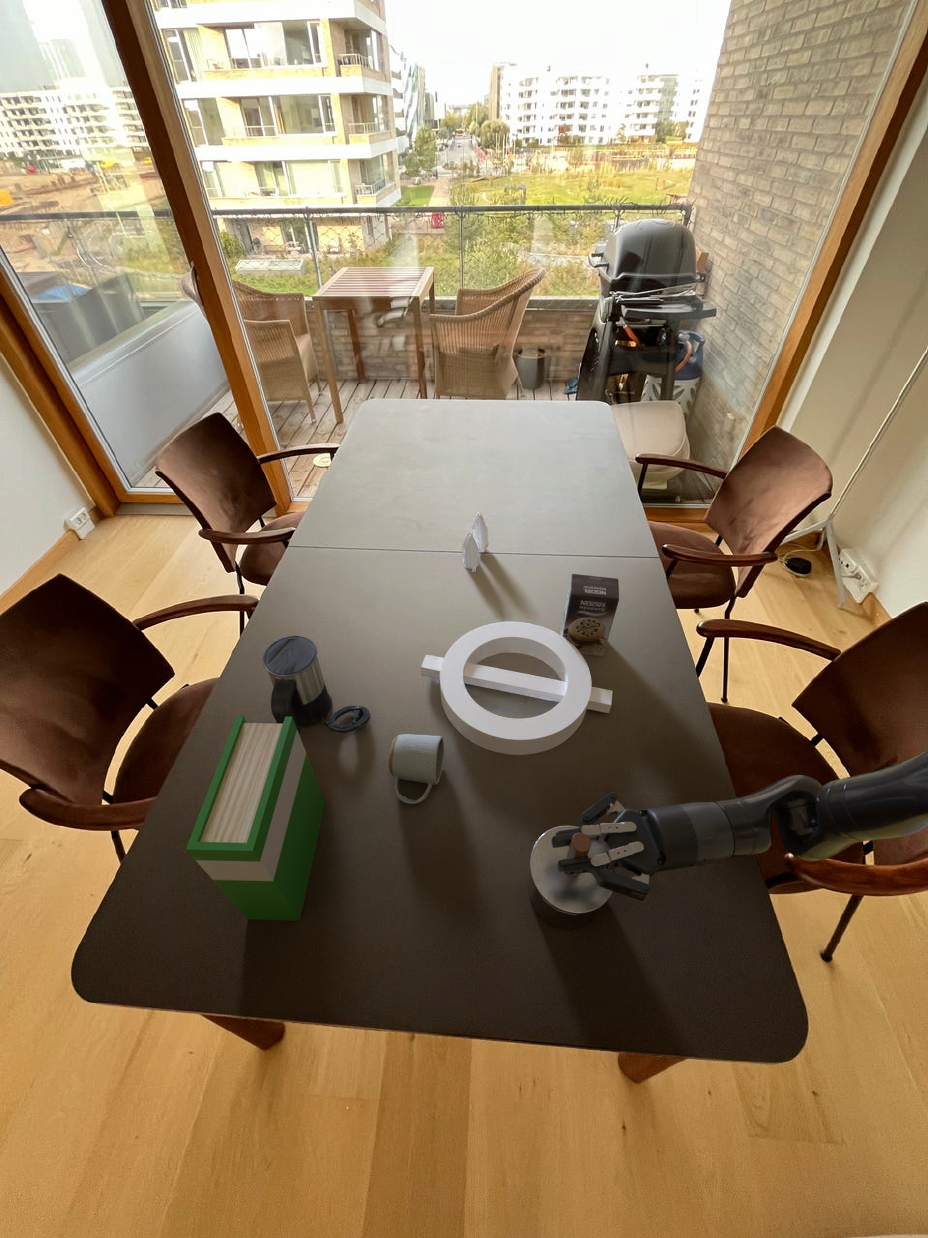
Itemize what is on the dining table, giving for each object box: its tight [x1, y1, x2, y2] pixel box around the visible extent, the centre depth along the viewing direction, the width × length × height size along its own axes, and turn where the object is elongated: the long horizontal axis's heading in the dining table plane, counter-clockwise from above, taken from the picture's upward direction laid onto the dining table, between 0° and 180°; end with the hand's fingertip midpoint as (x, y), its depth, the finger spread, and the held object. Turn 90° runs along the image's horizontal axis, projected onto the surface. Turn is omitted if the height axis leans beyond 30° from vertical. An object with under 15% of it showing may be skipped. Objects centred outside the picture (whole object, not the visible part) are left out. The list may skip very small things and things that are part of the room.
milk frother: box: [261, 635, 371, 737], centre depth 97 cm, size 14×16×15 cm
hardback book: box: [185, 715, 326, 922], centre depth 75 cm, size 18×7×24 cm, turn 179°
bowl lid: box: [529, 825, 617, 914], centre depth 71 cm, size 11×11×9 cm
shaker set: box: [462, 511, 489, 573], centre depth 131 cm, size 12×4×11 cm, turn 160°
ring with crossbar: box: [420, 621, 613, 756], centre depth 104 cm, size 28×28×5 cm
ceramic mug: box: [388, 733, 445, 805], centre depth 90 cm, size 11×8×8 cm
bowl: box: [527, 871, 601, 932], centre depth 77 cm, size 10×10×7 cm
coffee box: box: [559, 573, 620, 658], centre depth 109 cm, size 9×6×16 cm
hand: (556, 854), depth 70 cm, fingers closed on bowl lid, 2 cm apart
